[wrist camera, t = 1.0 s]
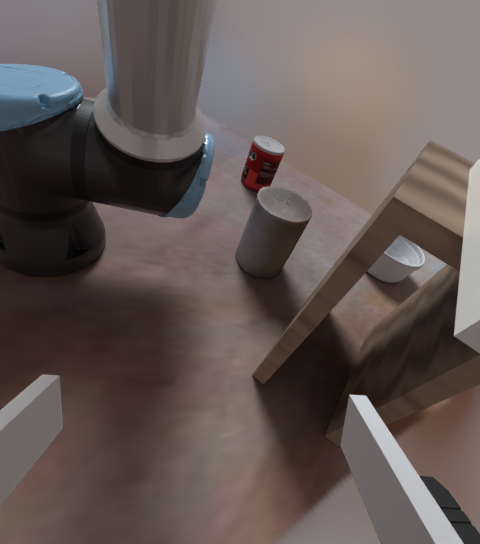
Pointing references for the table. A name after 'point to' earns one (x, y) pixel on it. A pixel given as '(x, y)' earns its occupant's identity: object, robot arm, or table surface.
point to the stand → (409, 314)
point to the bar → (470, 268)
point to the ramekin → (398, 261)
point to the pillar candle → (272, 231)
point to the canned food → (262, 163)
